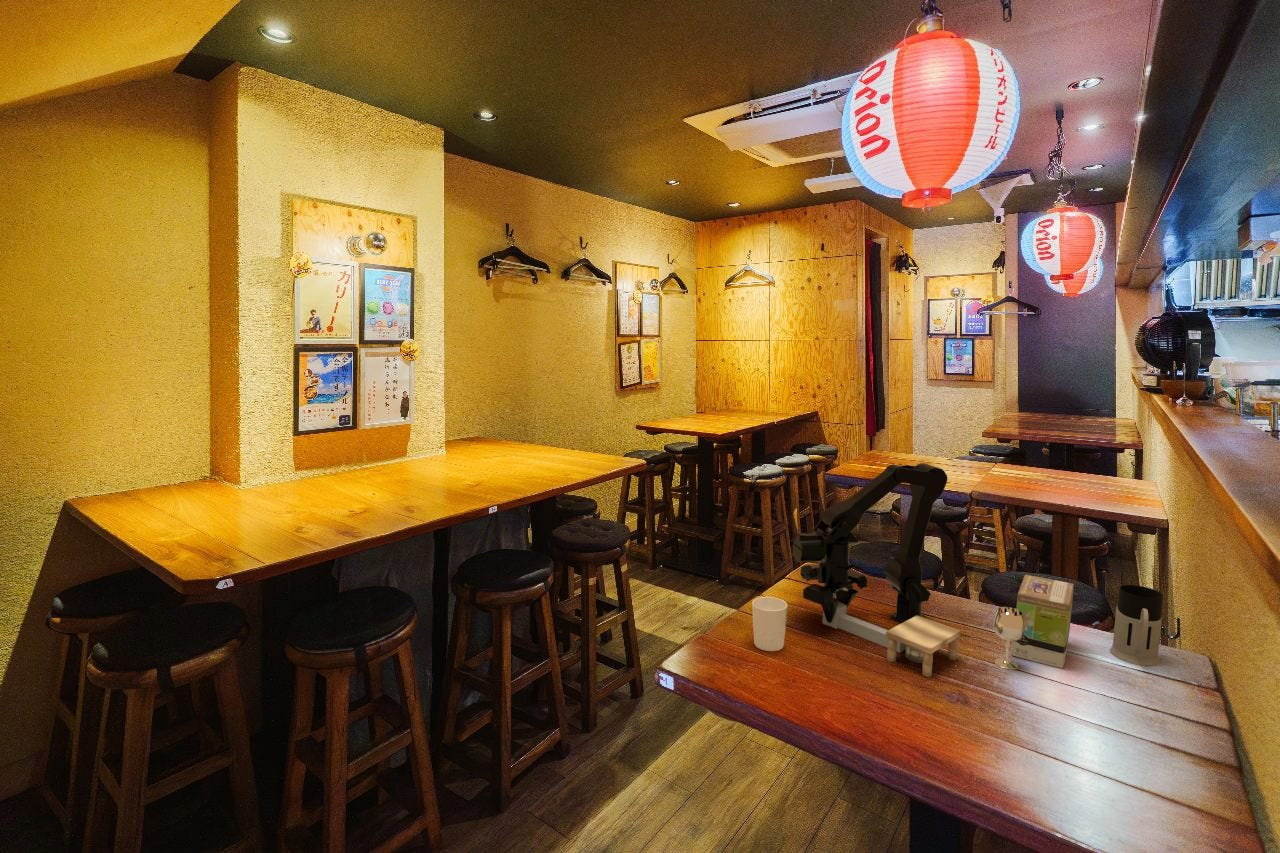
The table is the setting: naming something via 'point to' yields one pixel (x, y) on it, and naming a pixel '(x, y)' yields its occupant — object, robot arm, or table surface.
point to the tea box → (1044, 620)
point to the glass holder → (1137, 625)
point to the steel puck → (914, 654)
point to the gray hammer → (860, 627)
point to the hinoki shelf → (923, 640)
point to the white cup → (769, 623)
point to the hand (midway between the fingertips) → (834, 619)
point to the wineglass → (1008, 631)
